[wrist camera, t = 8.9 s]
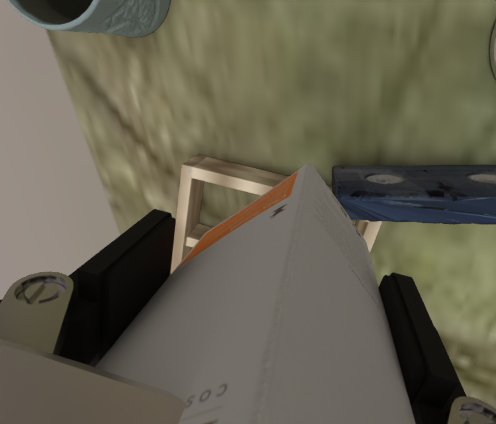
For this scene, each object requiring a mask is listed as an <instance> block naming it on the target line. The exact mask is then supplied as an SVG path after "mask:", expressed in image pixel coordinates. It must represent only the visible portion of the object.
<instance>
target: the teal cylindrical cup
mask: <svg viewBox="0 0 496 424" xmlns="http://www.w3.org/2000/svg"><path fill="white" fill-rule="evenodd" d="M7 1H8V2H9V4H10V5H11V6H12V7H13V8H14V9H15V10H16V11H17V12H18V13H19V14H20V15H21V16H23V17H24V18H26V19H27V20H28V21H29V22H31V23H33V24H35V25H37V26H40V27H42V28H44V29H49V30H58V31H75V32H79V31H81V32H87V33H103V34H113V35H120V36H126V37H142V36H145V35H148V34H150V33H152V32H153V31H155V30H156V29H157V28H158V27H159V26H160V25H161V23H162V22H163V21H164V19H165V17H166V15H167V12H168V9H169V5H170V0H7Z"/></svg>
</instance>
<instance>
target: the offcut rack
mask: <svg viewBox="0 0 496 424" xmlns="http://www.w3.org/2000/svg"><path fill="white" fill-rule="evenodd" d="M288 177H289V176H285V175H281V174H277V173H273V172H269V171H264V170H260V169H256V168H252V167H248V166H244V165H240V164H235V163H231V162H227V161H223V160H219V159H215V158H211V157H207V156H202V155H196V156H195V157H193V158H192V159H190V160H188V161H187V162H185V163H184V164H182V170H181V179H180V189H179V198H178V207H177V217H176V226H175V235H174V244H173V254H172V264H171V274H172V272H173V271H174V270H175V269H176V268H177V266H178V265H179V264H180V263H181V261H182V260H183V259H184V258H185V257H186V255H187V254H188V253H189V252H190V251H191V249H192V248H193V247H194V246H195V245H196V243H197V242H198V241H199V240H200V239H201V237H202V236H203V235H204V234H205V233H206V232H207V231H209V230H210V229H212V228H213V227H210V226H206V225H202V224H198V222H199V215H200V208H201V201H202V194H203V187H204V181H206V182H210V183H214V184H218V185H222V186H226V187H230V188H234V189H238V190H242V191H246V192H250V193H254V194H258V195H264V194H265V193H266V192H268V191H269V190H271V189H272V188H274V187H275V186H276V185H278V184H279V183H281V182H282V181H284V180H285V179H287V178H288ZM328 188H329V189H330V191H331V192H332V187H331V186H328ZM381 223H382V221H377V222H370V221H368V220H357V222H356V225H355V226H356V228H357V229H358V230H359V232H360V233H361V235H362V236H363V238H364V239H365V240H366V243H367V247H368V250H369V253H370V251H371V248H372V246H373V243H374V241H375V238H376V236H377V233H378V231H379V228H380V226H381ZM171 274H170V275H171Z"/></svg>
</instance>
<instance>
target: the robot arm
mask: <svg viewBox="0 0 496 424" xmlns="http://www.w3.org/2000/svg"><path fill="white" fill-rule="evenodd" d="M490 59H491V66H492V69H493V72H494V75H495V78H496V23H495V26H494V30H493V33H492V36H491V45H490ZM175 225H176V220H175V218H172V215H171V213H168V212H164V211H161V210H157V209H154V210H152V211H151V212H150V213H149V214H147V215H146V216H145V217H143V218H142V219H141V220H140V221H138V222H137V223H136V224H134V225H133V226H132V227H131V228H129V229H128V230H127V231H126V232H124V233H123V234H122V235H120V236H119V237H118V238H117V239H116V240H114V241H113V242H111V243H110V244H109V245H107V246H106V247H105V248H104V249H102V250H101V251H100V252H99V253H97V254H96V255H95V256H93V257H92V258H91V259H90V260H88V261H87V262H86V263H85V264H83V265H82V266H81V267H79V268H78V269H77V270H76V271H74V272H73V273H72V274H71V275H69V276H67V275H65V274H62V273H58V272H40V273H36V274H31V275H28V276H26V277H23V278H21V279H19V280H18V281H17V282H15V283H14V284H13V285H12V286H11V287H10V288H9V289H8V291H7V292H6V294H5V296H4V298H3V299H2V300H0V424H178V423H179V421H180V418H181V416H182V414H183V411H184V409H185V407H186V403H185V402H183V401H182V400H181V399H179V398H178V397H176V396H175V395H173V394H171V393H170V392H168V391H165V390H162V389H159V388H156V387H153V386H150V385H147V384H144V383H141V382H138V381H135V380H132V379H129V378H125V377H122V376H119V375H116V374H113V373H110V372H107V371H104V370H101V369H98V368H95V366H96V365H97V364H98V363H99V361H100V360H101V359H102V358H103V357H104V355H105V354H106V353H107V352H108V351H109V349H110V348H111V347H112V346H113V345H114V343H115V342H116V341H117V340H118V338H119V337H120V336H121V335H122V333H123V332H124V331H125V330H126V328H127V327H128V326H129V325H130V323H131V322H132V321H133V320H134V319H135V317H136V316H137V315H138V314H139V312H140V311H141V310H142V309H143V308H144V306H145V305H146V304H147V303H148V302H149V300H150V299H151V298H152V297H153V296H154V294H155V293H156V292H157V291H158V289H159V288H160V287H161V286H162V285H163V284H164V282H165V281H166V280H167V279H168V277H169V276H170V274H171V264H172V254H173V244H174V235H175ZM379 292H380V295H381V298H382V302H383V305H384V309H385V312H386V316H387V320H388V323H389V327H390V330H391V334H392V338H393V342H394V345H395V349H396V353H397V357H398V361H399V364H400V368H401V371H402V375H403V379H404V383H405V387H406V391H407V394H408V397H409V401H410V405H411V408H412V412H413V416H414V419H415V423H416V424H496V409H495V408H494V407H492V406H491V405H489V404H487V403H485V402H483V401H481V400H479V399H475V398H472V397H467V396H466V394H465V392H464V390H463V387H462V385H461V383H460V381H459V379H458V376H457V374H456V372H455V370H454V367H453V365H452V363H451V361H450V359H449V356H448V354H447V352H446V350H445V347H444V345H443V343H442V341H441V339H440V336H439V334H438V332H437V330H436V328H435V327H434V325H433V323H432V321H431V319H430V316H429V314H428V312H427V310H426V307H425V305H424V303H423V301H422V298H421V296H420V294H419V292H418V289H417V287H416V285H415V283H414V281H413V279H412V277H408V276H405V275H401V274H397V273H391V275H390V276H387V275H385V276H384V277H383V279H382V281H381V283H380V286H379Z"/></svg>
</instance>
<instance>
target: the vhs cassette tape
mask: <svg viewBox="0 0 496 424" xmlns="http://www.w3.org/2000/svg"><path fill="white" fill-rule="evenodd" d="M332 193H333V195H334V196H335V197H336V199H337V200H338V202H339V203H340V204H341V206H342V207H343V208H344V210H345V211H346V213H347V214H348V216H349V217H350V219H351V220H368V221H370V222H377V221H393V222H421V223H443V224H471V223H475V224H496V165H428V166H334V167H333V169H332Z"/></svg>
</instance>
